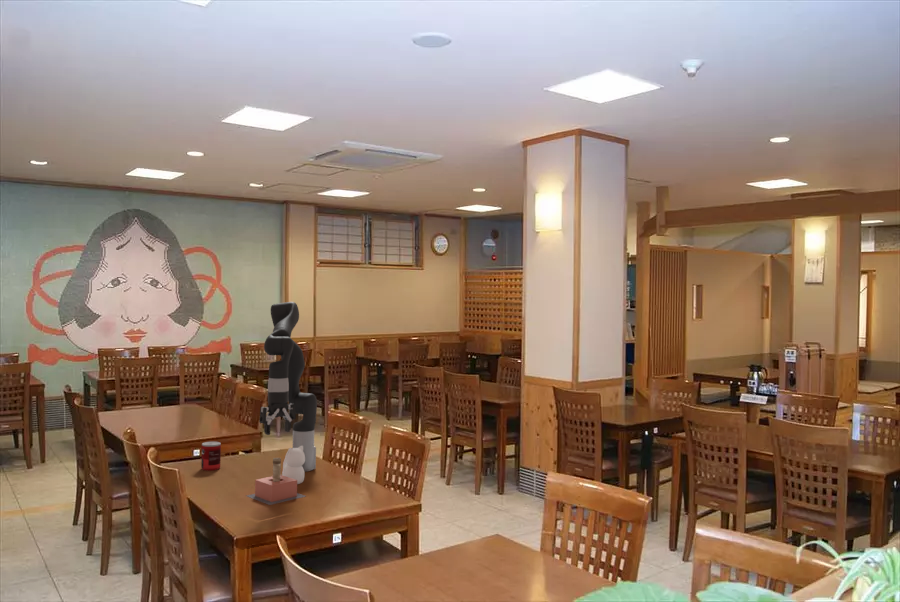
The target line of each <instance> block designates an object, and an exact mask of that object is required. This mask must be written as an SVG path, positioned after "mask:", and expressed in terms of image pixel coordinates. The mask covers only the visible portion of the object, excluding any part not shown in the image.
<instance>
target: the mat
mask: <svg viewBox="0 0 900 602" xmlns="http://www.w3.org/2000/svg"><path fill="white" fill-rule="evenodd" d="M246 497H247V498H250V499H253V500H256V501H258V502H260V503H264V504H266V505H269V506H271V505H276V504H279V503H280V504H281V503H283V502H287V501H292V500H293V501H294V500H298V499H301V498H306V497H307V495H304V494H302V493H298V492H297V496H295V497H291V498H287V499H282V500H278V501H274V502H270V501H267V500H265V499H262V498H260V497H257V496H255V493H251V494H248V495H246Z"/></svg>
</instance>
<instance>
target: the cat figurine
mask: <svg viewBox="0 0 900 602" xmlns="http://www.w3.org/2000/svg"><path fill="white" fill-rule="evenodd" d="M284 457H285V458H284V460H283V463H282V470H281V471H282V472H281V475H283V476H286V477H289V478H292V479H295V480H297V485H299V484H302V483H303V482H304V481H305V472H304V469H303V467H302V465H303V464H304V462H305V455H304V452H303V446H300V447H298V448H293V447H289V448H288V450H287V452H286V454H285V456H284Z"/></svg>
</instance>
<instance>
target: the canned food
mask: <svg viewBox="0 0 900 602" xmlns="http://www.w3.org/2000/svg"><path fill="white" fill-rule="evenodd" d="M221 453H222V444H221V442H219V441H205V442H202V443H201V462H200V463H201V464H200V465H201V470H203V471H207V472H208V471H217V470H219V469H220V468H221V460H222V459H221V456H222V454H221Z"/></svg>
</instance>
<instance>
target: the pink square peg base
mask: <svg viewBox="0 0 900 602" xmlns="http://www.w3.org/2000/svg"><path fill="white" fill-rule="evenodd" d="M254 484H255V485H254V494H255V496H257V497H260V498H262V499H265V500H267V501H270V502H274V501H278V500H282V499H287V498H291V497H295V496H297V493H298V484H297V480H295V479H292V478H289V477H286V476H283V475H282V474H280V481H278V482H273V475H271V476H267V477H262V478H258V479H255V481H254Z"/></svg>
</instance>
